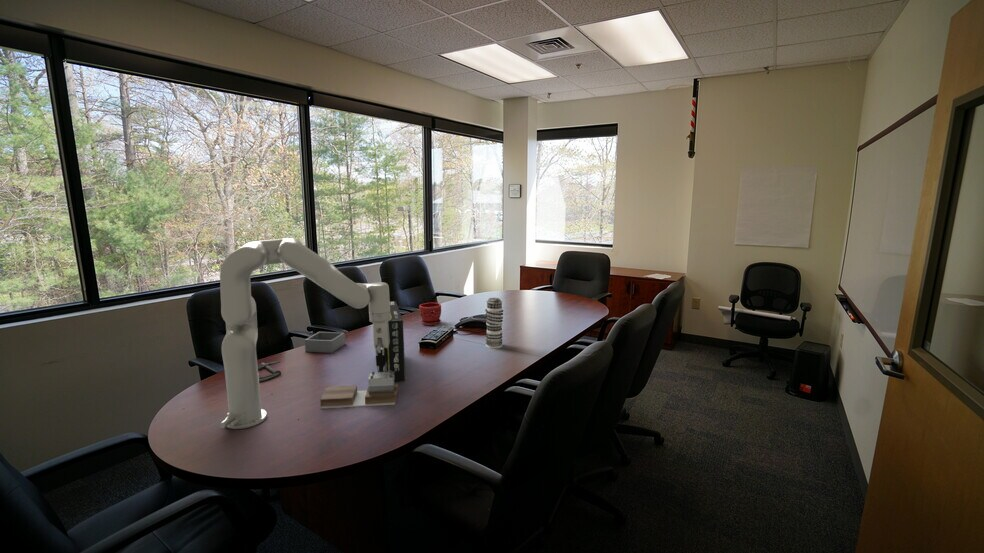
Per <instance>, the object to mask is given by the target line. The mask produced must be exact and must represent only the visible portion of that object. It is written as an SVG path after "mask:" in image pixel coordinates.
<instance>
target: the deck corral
mask: <svg viewBox="0 0 984 553" xmlns="http://www.w3.org/2000/svg"><path fill="white" fill-rule="evenodd" d="M344 345H346V334H345V332H334V331H333V332H332V331H317V332H316V333H314V334H313V335H310V336H309V337H307V338H305V339H304V349H305V352H306V353H307V352H309V353H327V354H328V353H329V354H333V353H335V352H336V351H337V350H338V349H341V347H344Z"/></svg>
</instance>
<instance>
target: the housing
mask: <svg viewBox="0 0 984 553" xmlns="http://www.w3.org/2000/svg"><path fill="white" fill-rule="evenodd" d="M367 380H368V383H367V386H368V387H367V389H368V388H369V394H383V393H394V388H395V384H396V382H395V377H394V372H392V371H390V372H378V371H377V372H375V371H371V372H369V375H368V378H367Z"/></svg>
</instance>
